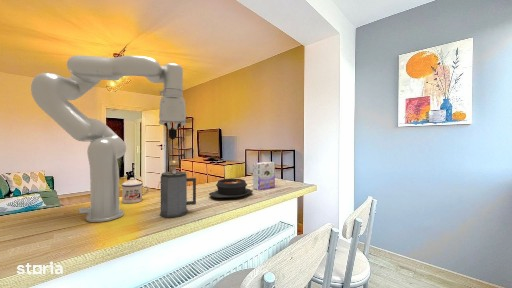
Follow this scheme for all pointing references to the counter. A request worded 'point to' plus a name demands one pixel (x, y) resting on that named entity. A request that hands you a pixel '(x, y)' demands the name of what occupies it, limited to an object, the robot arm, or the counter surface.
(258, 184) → the candy box
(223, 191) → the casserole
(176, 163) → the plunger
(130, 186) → the teacup with lid
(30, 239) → the counter surface
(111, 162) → the robot arm
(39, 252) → the counter surface
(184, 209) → the coffee press
